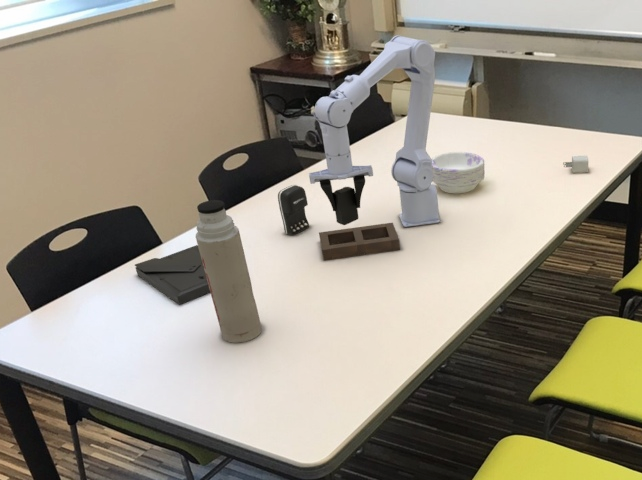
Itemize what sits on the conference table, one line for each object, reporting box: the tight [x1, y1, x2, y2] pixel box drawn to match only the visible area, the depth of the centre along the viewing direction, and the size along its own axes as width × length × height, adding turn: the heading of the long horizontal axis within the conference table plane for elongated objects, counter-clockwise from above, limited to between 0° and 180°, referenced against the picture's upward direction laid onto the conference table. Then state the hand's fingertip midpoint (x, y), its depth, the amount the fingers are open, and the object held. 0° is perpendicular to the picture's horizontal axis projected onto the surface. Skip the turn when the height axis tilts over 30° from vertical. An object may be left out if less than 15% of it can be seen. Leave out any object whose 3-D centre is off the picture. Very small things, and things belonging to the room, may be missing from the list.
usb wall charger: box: [562, 155, 589, 174], centre depth 229 cm, size 4×7×4 cm, turn 89°
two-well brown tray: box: [318, 222, 401, 261], centre depth 194 cm, size 18×10×3 cm, turn 104°
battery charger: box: [277, 184, 310, 236], centre depth 200 cm, size 7×4×11 cm, turn 146°
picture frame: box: [134, 244, 211, 305], centre depth 184 cm, size 16×3×21 cm
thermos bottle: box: [195, 199, 263, 344], centre depth 155 cm, size 8×8×28 cm
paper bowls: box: [431, 151, 486, 194], centre depth 221 cm, size 15×15×8 cm
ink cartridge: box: [332, 186, 359, 226], centre depth 188 cm, size 5×2×8 cm, turn 137°
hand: (346, 207), depth 189 cm, fingers closed on ink cartridge, 5 cm apart
